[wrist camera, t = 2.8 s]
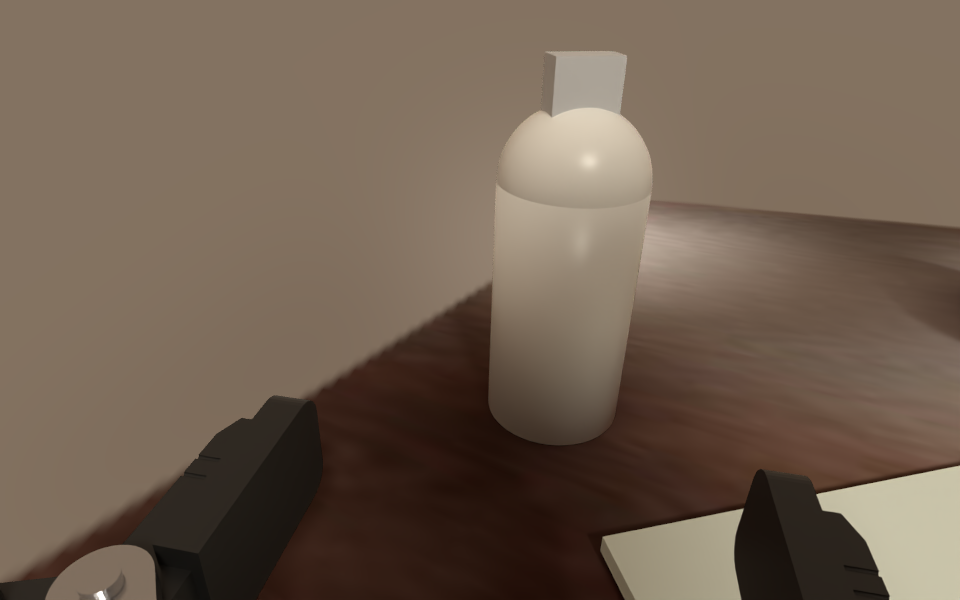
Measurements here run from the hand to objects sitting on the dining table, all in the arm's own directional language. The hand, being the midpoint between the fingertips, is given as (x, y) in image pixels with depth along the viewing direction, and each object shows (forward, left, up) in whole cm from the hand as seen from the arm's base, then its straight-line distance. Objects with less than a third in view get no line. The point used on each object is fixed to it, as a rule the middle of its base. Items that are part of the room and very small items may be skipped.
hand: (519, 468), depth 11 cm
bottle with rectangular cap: (-5, -10, -7) cm, 13 cm away
